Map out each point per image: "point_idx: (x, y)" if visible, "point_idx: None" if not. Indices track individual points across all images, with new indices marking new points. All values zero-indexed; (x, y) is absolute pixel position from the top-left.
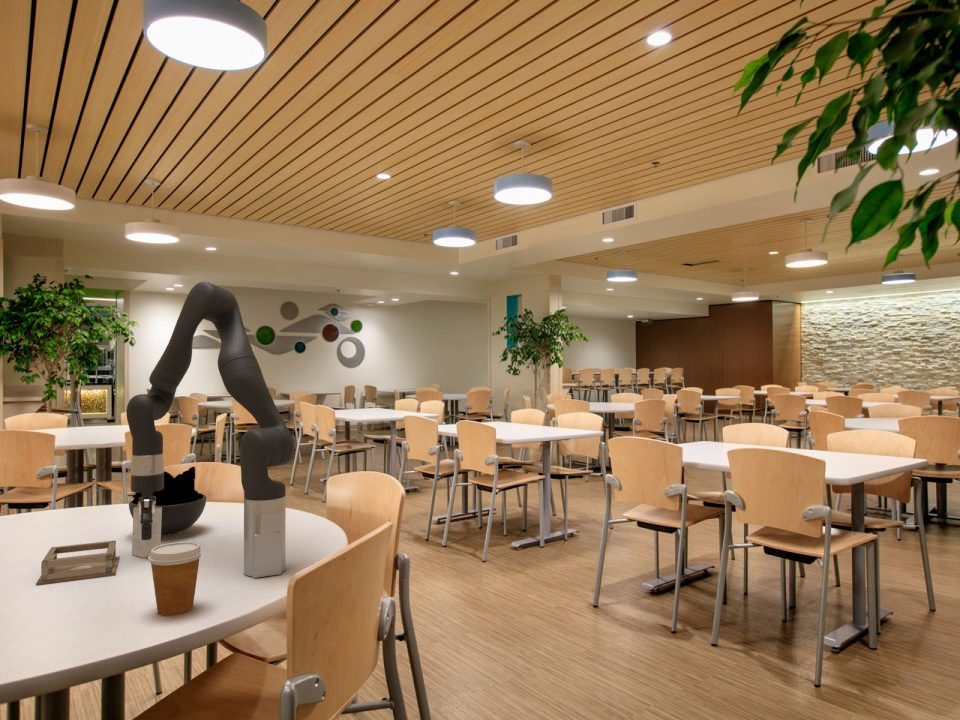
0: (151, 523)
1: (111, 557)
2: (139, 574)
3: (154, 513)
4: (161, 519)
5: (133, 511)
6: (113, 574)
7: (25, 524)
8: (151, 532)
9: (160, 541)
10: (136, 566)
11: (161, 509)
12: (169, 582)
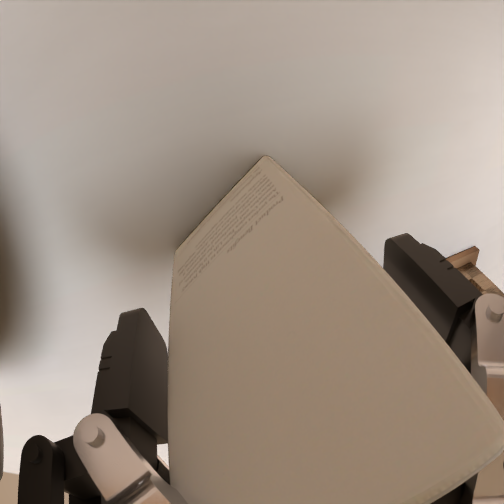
0: (497, 299)
1: (499, 291)
2: (497, 179)
3: (495, 384)
4: (384, 278)
5: None
6: (476, 252)
7: (16, 467)
8: (431, 256)
9: (286, 175)
10: (427, 212)
11: (492, 409)
12: None
